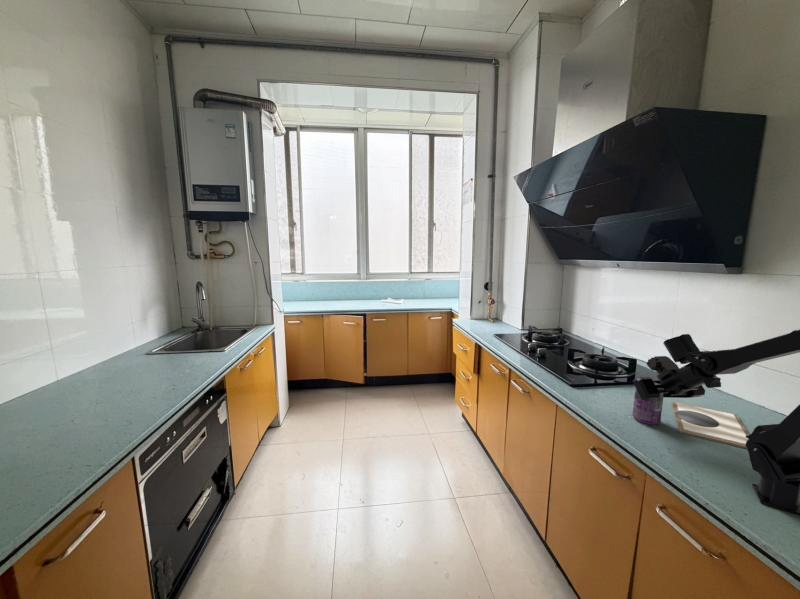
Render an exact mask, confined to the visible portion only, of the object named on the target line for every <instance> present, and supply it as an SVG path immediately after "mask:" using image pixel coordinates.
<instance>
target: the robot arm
mask: <svg viewBox="0 0 800 599" xmlns="http://www.w3.org/2000/svg"><path fill="white" fill-rule="evenodd" d="M663 346H664V348H666V350H667V352H668V353H669V355H670V357H671V358H672V359H671V358H670V357H668V356H666V355H659V356H653V357H651V358H650V359H649V358H648V360H647V362H646V366H647V367H648V368H649V369H650V370H651V371H655V372H656V373H657V374H658V375H656V378H657V379H658V381H659V380H660V384H659V385H655V384H654V383H655V381H654V380H653V379H652V378H651V377H649V376H641V377H635V379H633V380H632V383H633V386H635V388H636V389H637V392H636V394H635V393H634V394H633V395H634V396H635V398H636V399H641V400H655V399H657V398H659V397H660V393H664V396H663V398H671V399H673V398H674V399H675V398H677V399H678V398H681V399H682V398H683V399H689V398H691V399H692V398H699V397H700V398H701V397H702V396H705V393H706V390H705V388H704V387H703V385H705V387H706V388H708V389H715V388H721V387H722V382H721V378H720V377H718V376H719V375H720V376H721V375H735V374H737V373H739V372H742V371H745V370H747V369H749V367H751V366H752V365H755V364H757V363H761V362H765V361H769V360H773V359H778V358H782V357H786V356H790V355H794V354H799V353H800V328H799V329H794V330H792V331H791V332H789V333H785V334H781V335H779V336H774V337H772V338H768V339H765V340H761V341H758V342H755V343H751V344H748V345H744V346H740V347H736V348H731V349H729V348H728V349H718V350H711V351H709V350H703V351H702V350H700V349H699V347H698V346H697V344H696V343H695V341H694V339H693V338H692V335H691V334H689V333H685V334H681V335H677V336H674V337H672V338H668V339H666V340H664V341H663ZM677 363H680V365H683V366H682V367H679V365H677ZM717 375H718V376H717ZM746 438H749V439H748V440H747V442H746V445H745V446H746V447H747V451H748V452H747V453H748V456H749V461H750V464H751V468H752V470H753V471H754V472H756V473H758V474H759V475H760V477H759V483H758V484H755V483H752V484H751V488H752V490H753V491H754V493H755V495H756V498H757V499H758V501H759V503H761V504H763V505H767V506H770V507H773V508H776V509H779V510H783V511H786V512H789V513H793V514H795V515H799V516H800V403H799V404H798V405H797V406H796V407H795V408H794V409H793V410H792V411H791V412H789V414H787V416H786V417H785V418H784V419H783V420H781V422H780V423H774V424H763V425H762V424H761V425H756V427H755V428H753V431H752V432H751V433H750V434H749V435H748V436H746Z"/></svg>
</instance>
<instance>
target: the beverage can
mask: <svg viewBox="0 0 800 599" xmlns="http://www.w3.org/2000/svg"><path fill="white" fill-rule="evenodd" d="M654 384H655V385H660V384H659V383H657V382H654ZM636 392H637V389H636V387H635V389H634V395H635V394H636ZM663 396H664V393H660V397H659V398H657V399H655V400H641V399H636V398H635V396H634V399H633V406H632V416H633V418H634V419H636V420H637V421H639V422H641V423H642V424H646V425H659V424H660V423H661V419H662V413H663V412H662V411H663V404H664V397H663Z"/></svg>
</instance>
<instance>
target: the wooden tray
mask: <svg viewBox="0 0 800 599" xmlns="http://www.w3.org/2000/svg"><path fill="white" fill-rule="evenodd" d="M671 404H672V407H673V411H674V416H675V419H676V423H677V426H678V431H679V434H680V433H681V434H683V435H687V436H688V435H689V436H693V437H697V438H699V439H704V440H705V439H706V440H710V441H714V442H718V443H721V444H726V445H730V446H733V447H737V448H741V449H747V447H746V446H745V445H746V442H747V440H748V439H749V438H746V436H748V435H750V434H749V431H748V430H747V428H746V427H745V425H744V424H743V422H742V421H741V419H740V418H739V416H738V414H735V413H732V412H726V411H720V410H715V409H710V408H707V407H706V408H705V407H701V406H695V405H691V404H687V403H680V402H677V401H672V402H671Z"/></svg>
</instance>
